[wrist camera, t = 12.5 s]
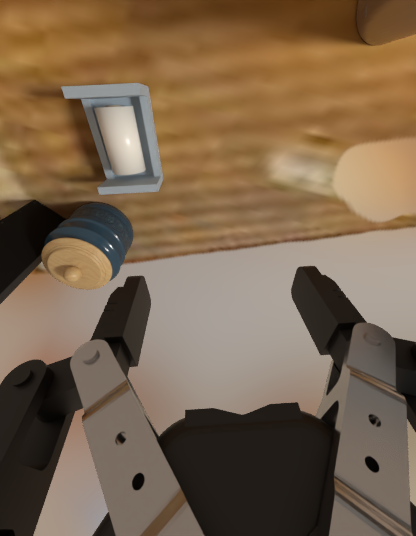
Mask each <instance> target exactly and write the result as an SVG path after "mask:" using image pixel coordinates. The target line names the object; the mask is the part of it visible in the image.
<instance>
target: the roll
mask: <svg viewBox="0 0 416 536" xmlns="http://www.w3.org/2000/svg"><path fill="white" fill-rule="evenodd" d="M94 109H95V113H96V116H97V120H98V123H99V127H100V130H101V133H102V137H103V140H104V144H105V147H106V151H107V154H108V157H109V161H110V164H111V168H112V171H113V174H116V175H132V174H137V173H141V172H144V171H145V170H146V168H145V163H144V158H143V153H142V148H141V143H140V138H139V133H138V128H137V123H136V118H135V113H134V108H133V106H123V107H122V106H121V105H106V107H98V108H94Z"/></svg>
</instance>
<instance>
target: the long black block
mask: <svg viewBox="0 0 416 536" xmlns="http://www.w3.org/2000/svg"><path fill="white" fill-rule="evenodd" d="M65 220H66V219H64V218H63V217H61V216H60V215H58V214H57V213H55V212H53V211H52V210H50V209H49V208H47V207H46V206H44V205H43V204H41V203H39V202H38V201H36V200H34V201H32V202H30V203H29V204H27V205H25V206H24V207H22V208H20V209H19V210H17V211H15V212H14V213H12V214H10V215H9V216H7V217H5V218H4V219H2V220H0V304H1V303H2V302H3V301H4V300H5V299H6V298H7V297H8V296H9V294H11V292H12V291H13V290H14V289H15V288H16V287H17V286H18V285H19V284H20V283H21V282H22V281H23V280H24V279H25V278H26V277H27V276H28V275H29V274H30V273H31V272H32V271H33V270H34V269H35V268H36V267H37V266H38V265H39V264H40V263H41V262H42V257H41V255H42V250H43V248H44V241H45V239H46V237H47V235H48V234H49V233H50V232H52V231H53V230H55V229H56V228H57V226H58V225H59V224H60V223H62V222H63V221H65Z"/></svg>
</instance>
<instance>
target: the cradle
mask: <svg viewBox="0 0 416 536" xmlns="http://www.w3.org/2000/svg"><path fill="white" fill-rule="evenodd" d="M61 88H62V91H63V94H64V97H65V99H81V101H82V104H83V107H84V110H85V113H86V116H87V120H88V123H89V126H90V129H91V132H92V135H93V138H94V141H95V144H96V147H97V151H98V154H99V157H100V160H101V163H102V166H103V169H104V172H105V175H106V178H107V179H106V180H105V181H104V182H103V183H102V184H101V185H99V186H98V187H97V189H98V191H99V194H100V195H104V194H122V193H140V192H158V191H159V188H160V186H161V184H162V181H163V174H162V168H161V161H160V155H159V149H158V143H157V137H156V131H155V125H154V118H153V112H152V106H151V100H150V94H149V88H148V86H145V85H142V84H140V83H127V84H106V85H85V86H64V87H61ZM106 105H121V106H122V107H123V106H133V108H134V113H135V118H136V123H137V128H138V133H139V138H140V143H141V148H142V153H143V158H144V163H145V168H146V170H145V171H144V172H141V173H137V174H132V175H116V174H113V171H112V168H111V164H110V161H109V157H108V154H107V151H106V147H105V144H104V140H103V137H102V133H101V130H100V127H99V123H98V120H97V116H96V113H95V109H94V108H98V107H106Z"/></svg>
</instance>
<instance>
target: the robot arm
mask: <svg viewBox="0 0 416 536" xmlns="http://www.w3.org/2000/svg"><path fill="white" fill-rule="evenodd" d="M356 21H357V28H358V31H359V34H360V36H361V38H362V39H363V40H364V41H365V42H366V43H368V44H371V45H382V44H385V43H388V42H392V41H395V40H398V39H401V38H405V37H408V36H411V35H415V34H416V0H358V6H357V15H356ZM291 293H292V298H293V301H294V303H295V305H296V307H297V309H298V311H299V313H300V315H301V317H302V319H303V321H304V323H305V325H306V327H307V329H308V331H309V333H310V335H311V337H312V339H313V341H314V342H315V345H316V347H317V349H318V351H319V353H320V355H331V357H332V359H333V360H332V362H331V365H330V369H329V373H328V377H327V381H326V386H325V390H324V394H323V398H322V401H321V404H320V406H319V408H318V410H317V413H316V416H313V415H311V414H309V413H306V412H303V411H300V408H299V405H298V403H297V402H296V403H281V404H270V405H267V406H265V407H262V408H260V409H257V410H255V411H253V412H250V413H247V414H244V415H240V414H236V413H232V412H227V411H223V410H219V409H214V408H209V409H195V410H185V418H183V419H181V420H179V421H177V422H176V423H174V424H172V425H171V426H170V427H168V428H167V429H166V430H165V431H164V432H163V433H162V434H161V435H160V436H159V435H158V433H157V432H156V429H155V428H154V426H153V424H152V422H151V420H150V418H149V416H148V415H147V413H146V411H145V409H144V407H143V406H142V403H141V401H140V400H139V398H138V396H137V394H136V392H135V390H134V388H133V386H132V384H131V382H130V380H129V379H128V377H127V375H128V371H129V367H134V366H138V362H139V357H140V353H141V348H142V344H143V339H144V334H145V330H146V325H147V321H148V316H149V312H150V307H151V299H150V294H149V291H148V288H147V284H146V281H145V278H144V276H130V277H127V279H126V282H125V284H124V287H118V288H117V289H116V290H115V291H114V292H113V293H112V294H111V295H110V298H109V299H108V302H107V305H106V306H105V309H104V312H103V313H102V315H101V318H100V320H99V322H98V324H97V327H96V329H95V331H94V333H93V336H92V338H91V340H90V341H89V342H87V343H85V344H83V345H82V346H81V347H79V348H78V349H77V350H76V351H75V353H74V355H73V356H72V357H69V358H67V359H64V360H61V361H58V362H55V363H52V364H49V365H46V364H45V363H44V362H43V361H41V360H31V361H27V362H25V363H23V364H21V365H19V366H18V367H16V368H15V369H14V370H12V371H11V372H10V373H9V374H8V375H7V376H6V377H5V379H4V380H3V381H2V383H1V385H0V536H33V534H34V531H35V528H36V525H37V522H38V519H39V516H40V513H41V510H42V508H43V505H44V502H45V499H46V495H47V493H48V490H49V487H50V484H51V481H52V478H53V475H54V472H55V469H56V466H57V463H58V460H59V457H60V454H61V451H62V448H63V446H64V442H65V440H66V437H67V434H68V431H69V428H70V425H71V422H72V419H73V416H74V413H75V411H77V410H79V409H82V408H84V412H85V414H84V415H83V416H82V423H83V427H84V431H85V434H86V437H87V441H88V444H89V447H90V451H91V454H92V457H93V461H94V464H95V468H96V471H97V474H98V478H99V481H100V484H101V488H102V491H103V494H104V498H105V501H106V504H107V508H108V511H109V512H108V513H107V514H106V516H105V517H104V519H103V520H102V522H101V523H100V525H99V527H98V528H97V529H96V531H95V533H94V534H93V536H416V506H414V505H413V503H412V502H410V488H409V461H408V434H407V419H408V421H409V422H410V424H411V425H412V427H413V429H414V430H415V432H416V342H412V341H407V340H403V339H398V338H393V337H391V335H390V334H389V333H388V332H386V331H385V330H383V329H382V328H380V327H378V326H376V325H374V324H371V323H367V322H366V321H365V320H364V318H363V317H362V316H361V315H360V313H359V312H358V311H357V309H356V308H355V307H354V306H353V304H352V303H351V302H350V300H349V299H348V298H346V295H345V294H344V293H343V291H341V289H340V288H339V286H338V285H337V284H336V283H335V282H334V281H333V280H332V279H330V278H329V277H327V276H326V275H321V273H320V272H319V271H318V269H317V268H316V267H315V266H304V267H299V268H298V269H297V271H296V274H295V278H294V281H293V285H292V289H291Z"/></svg>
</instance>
